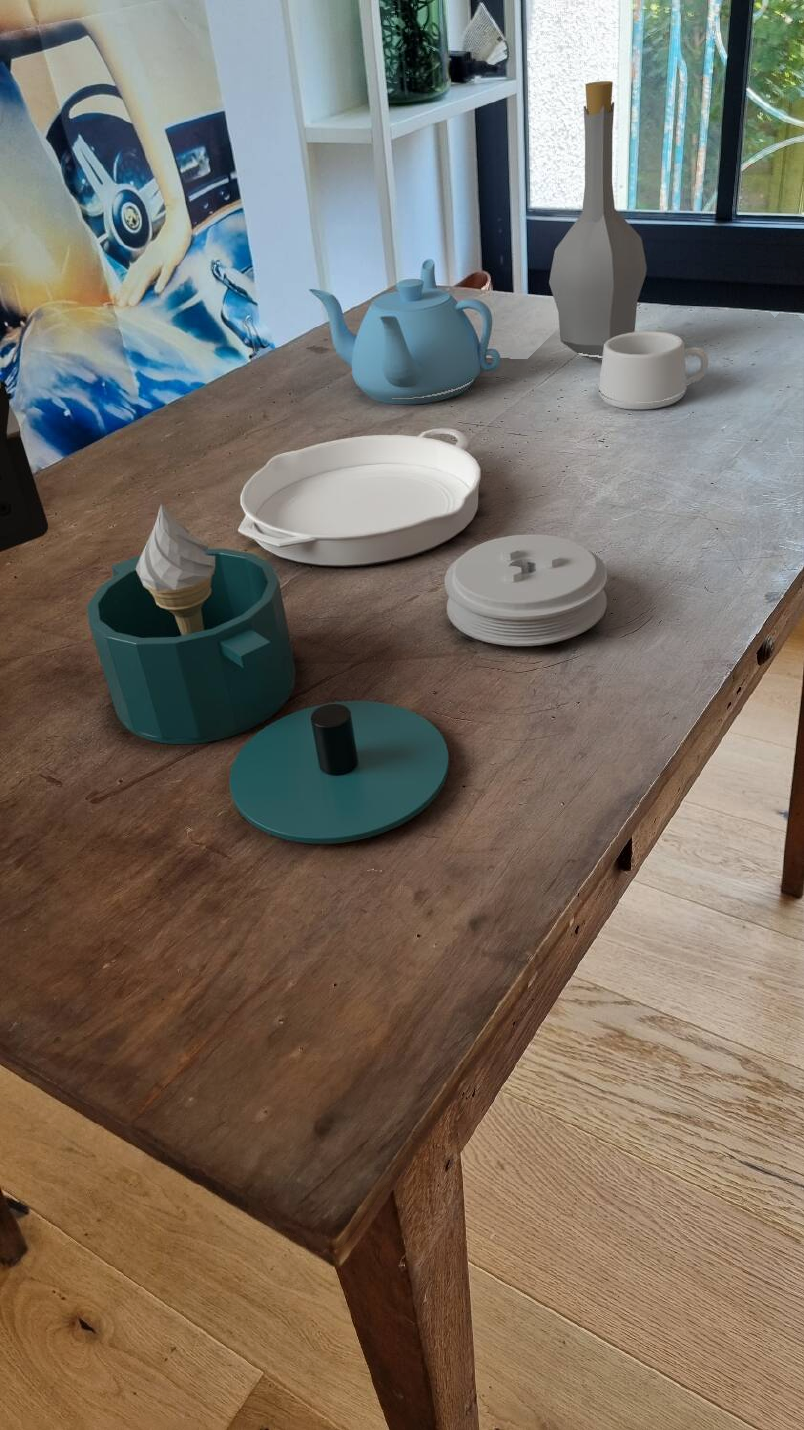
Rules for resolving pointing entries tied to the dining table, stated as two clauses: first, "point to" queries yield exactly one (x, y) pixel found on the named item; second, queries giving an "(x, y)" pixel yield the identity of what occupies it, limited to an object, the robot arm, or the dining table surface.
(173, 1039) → the dining table surface
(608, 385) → the mug
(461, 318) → the teapot
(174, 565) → the ice cream cone
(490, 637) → the lid
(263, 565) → the pot
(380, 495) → the pan
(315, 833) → the pot lid
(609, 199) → the bottle
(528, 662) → the dining table surface
